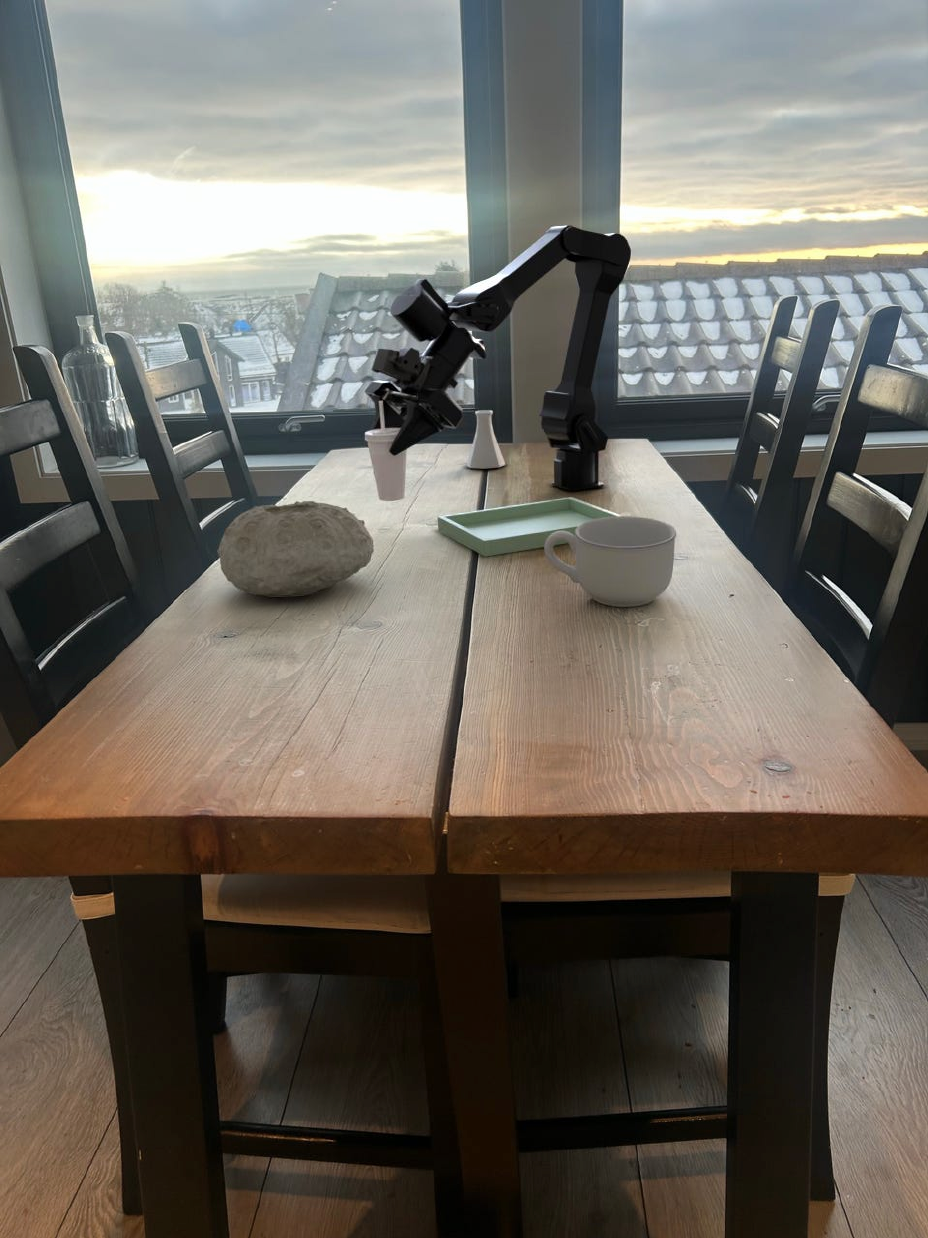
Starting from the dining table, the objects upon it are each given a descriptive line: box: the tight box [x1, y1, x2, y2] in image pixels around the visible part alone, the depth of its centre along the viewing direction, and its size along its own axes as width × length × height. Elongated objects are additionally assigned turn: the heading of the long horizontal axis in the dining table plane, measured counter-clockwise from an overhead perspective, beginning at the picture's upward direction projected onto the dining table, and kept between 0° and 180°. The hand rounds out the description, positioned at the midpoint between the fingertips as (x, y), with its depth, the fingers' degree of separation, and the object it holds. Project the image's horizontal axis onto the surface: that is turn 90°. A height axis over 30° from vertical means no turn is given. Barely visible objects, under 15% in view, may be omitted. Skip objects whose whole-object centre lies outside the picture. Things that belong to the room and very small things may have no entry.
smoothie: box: [364, 401, 408, 502], centre depth 143 cm, size 6×6×14 cm
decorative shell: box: [216, 500, 375, 598], centre depth 117 cm, size 18×18×10 cm
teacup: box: [543, 515, 677, 608], centre depth 109 cm, size 14×11×8 cm
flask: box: [465, 409, 506, 470], centre depth 183 cm, size 7×7×10 cm
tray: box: [437, 496, 623, 558], centre depth 138 cm, size 22×16×2 cm
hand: (380, 450), depth 142 cm, fingers closed on smoothie, 6 cm apart
